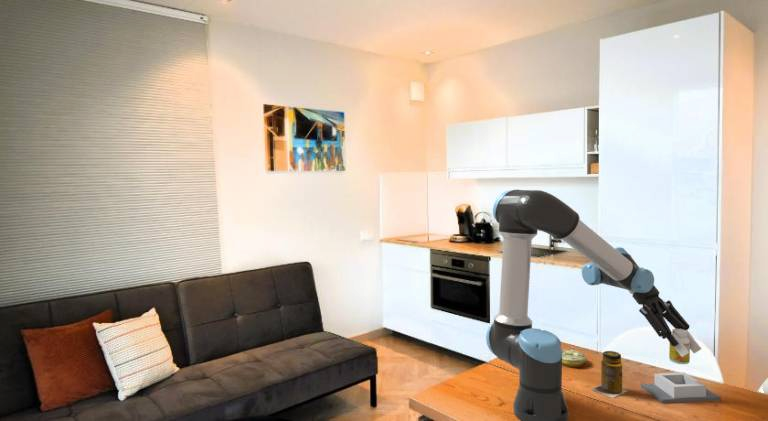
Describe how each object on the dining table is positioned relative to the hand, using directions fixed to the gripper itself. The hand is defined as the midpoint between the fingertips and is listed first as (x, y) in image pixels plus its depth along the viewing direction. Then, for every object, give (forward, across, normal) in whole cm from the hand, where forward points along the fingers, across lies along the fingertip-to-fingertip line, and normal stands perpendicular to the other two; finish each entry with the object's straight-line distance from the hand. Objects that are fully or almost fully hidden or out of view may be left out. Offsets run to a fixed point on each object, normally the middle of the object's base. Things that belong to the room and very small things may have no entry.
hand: (691, 352), depth 145 cm
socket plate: (+7, 0, -12) cm, 14 cm away
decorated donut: (-17, +8, -37) cm, 42 cm away
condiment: (-1, +16, -21) cm, 27 cm away
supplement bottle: (0, 0, -6) cm, 6 cm away
